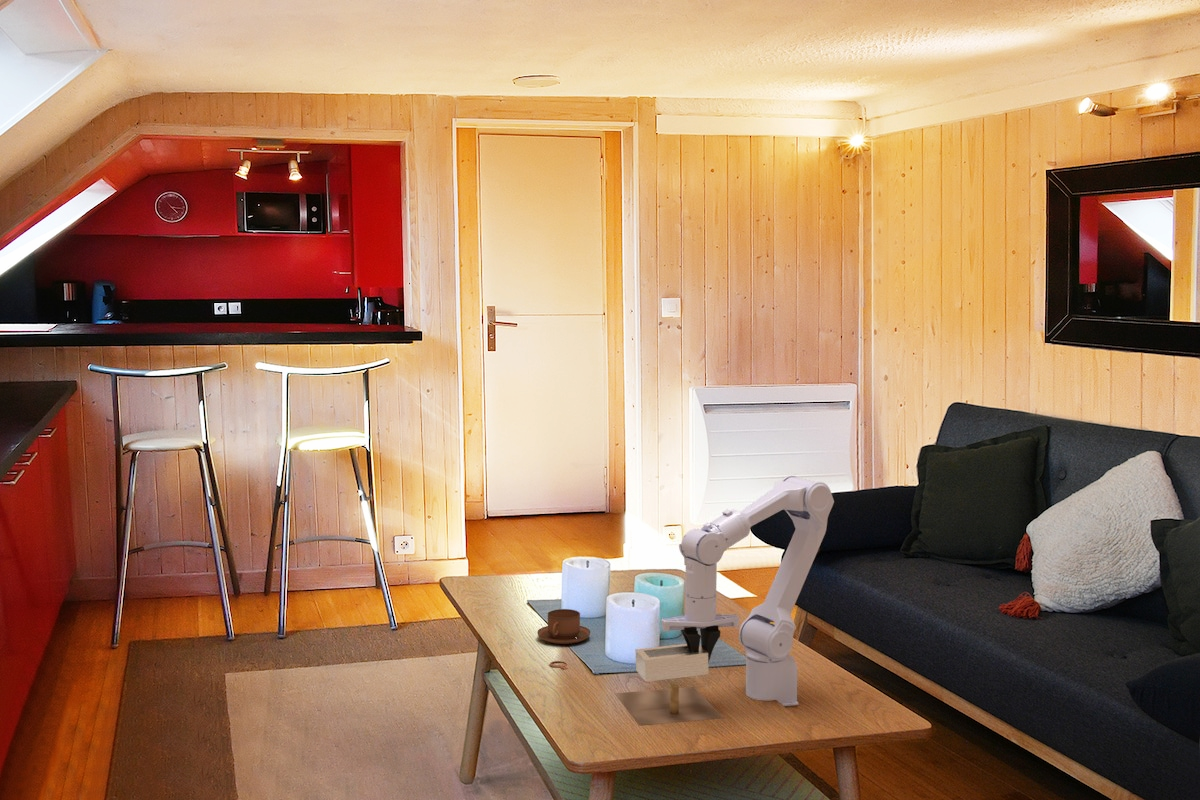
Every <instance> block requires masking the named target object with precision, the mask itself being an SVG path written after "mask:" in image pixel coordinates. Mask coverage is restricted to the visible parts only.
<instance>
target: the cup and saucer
mask: <svg viewBox="0 0 1200 800" xmlns="http://www.w3.org/2000/svg"><path fill="white" fill-rule="evenodd" d="M536 633H537V636H538V637H539V638H540V639H541V640H543V641H545V642H547V643H550V644H551V643H552V644H559V645H569V644H571V645H572V644H576V643H579V642H582V641H585V640H587V639H588V638H589V636H590V635H591V630H590V629H589V628H587V627H585V626H582V625H581V612H580V611H578V610H576V609H567V608H559V609H558V608H557V609H554V610H550V611H549V612H548V613H547V625H546V626H543V627H540V628H539V629H538V630H537V632H536ZM575 637H577V639H576V638H575Z"/></svg>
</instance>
